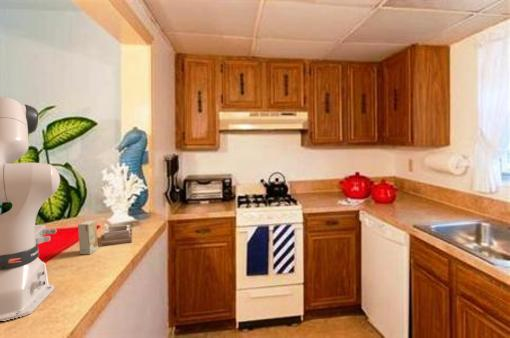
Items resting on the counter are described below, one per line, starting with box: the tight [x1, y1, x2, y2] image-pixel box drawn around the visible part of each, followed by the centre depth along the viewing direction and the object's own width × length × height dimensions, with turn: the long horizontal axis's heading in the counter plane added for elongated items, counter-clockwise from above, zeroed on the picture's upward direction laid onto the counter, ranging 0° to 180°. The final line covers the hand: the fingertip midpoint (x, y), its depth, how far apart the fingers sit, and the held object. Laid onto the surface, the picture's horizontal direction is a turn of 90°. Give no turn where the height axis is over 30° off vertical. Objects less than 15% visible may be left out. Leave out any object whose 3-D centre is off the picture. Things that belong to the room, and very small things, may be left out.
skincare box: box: [77, 220, 99, 255], centre depth 127 cm, size 6×4×12 cm
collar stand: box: [100, 224, 133, 247], centre depth 143 cm, size 18×12×4 cm, turn 21°
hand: (53, 234), depth 122 cm, fingers open, 8 cm apart
